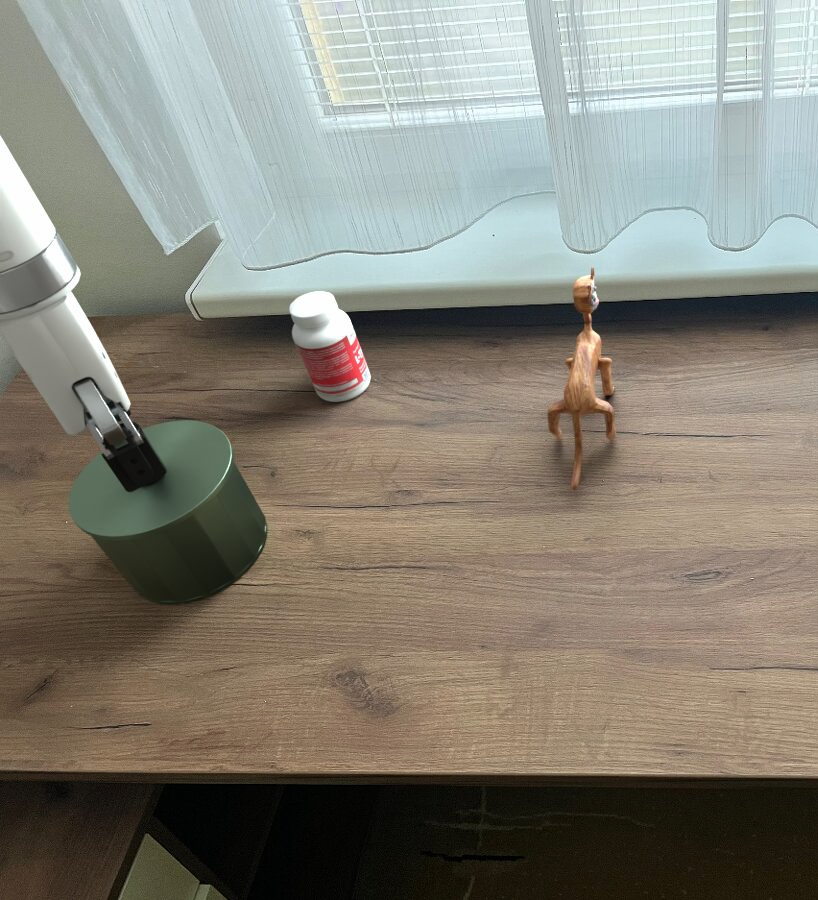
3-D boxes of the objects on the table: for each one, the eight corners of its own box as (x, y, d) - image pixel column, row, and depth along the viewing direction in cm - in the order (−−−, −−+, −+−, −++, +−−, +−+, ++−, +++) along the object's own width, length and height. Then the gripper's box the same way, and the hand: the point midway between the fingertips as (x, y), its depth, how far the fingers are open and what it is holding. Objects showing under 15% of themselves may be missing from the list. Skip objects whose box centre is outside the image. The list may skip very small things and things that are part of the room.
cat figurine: (610, 499, 81) (594, 388, 71) (540, 498, 82) (516, 387, 72) (628, 374, 94) (617, 264, 84) (567, 374, 94) (550, 266, 85)
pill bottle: (378, 391, 96) (347, 308, 88) (324, 411, 94) (288, 329, 86) (363, 361, 100) (333, 279, 92) (311, 380, 98) (275, 299, 91)
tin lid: (99, 573, 69) (57, 522, 64) (58, 481, 77) (18, 431, 73) (260, 486, 74) (231, 433, 70) (205, 408, 82) (176, 357, 78)
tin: (155, 630, 76) (99, 562, 69) (114, 546, 83) (61, 477, 76) (288, 552, 80) (249, 481, 74) (238, 479, 88) (198, 409, 81)
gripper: (-65, 249, 64) (58, 421, 76) (-22, 351, 54) (112, 533, 65) (41, 210, 67) (143, 382, 79) (101, 300, 57) (208, 483, 68)
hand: (129, 450), depth 72 cm, fingers open, 9 cm apart
